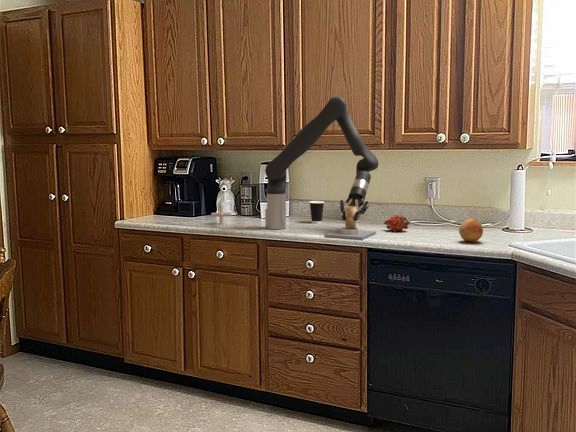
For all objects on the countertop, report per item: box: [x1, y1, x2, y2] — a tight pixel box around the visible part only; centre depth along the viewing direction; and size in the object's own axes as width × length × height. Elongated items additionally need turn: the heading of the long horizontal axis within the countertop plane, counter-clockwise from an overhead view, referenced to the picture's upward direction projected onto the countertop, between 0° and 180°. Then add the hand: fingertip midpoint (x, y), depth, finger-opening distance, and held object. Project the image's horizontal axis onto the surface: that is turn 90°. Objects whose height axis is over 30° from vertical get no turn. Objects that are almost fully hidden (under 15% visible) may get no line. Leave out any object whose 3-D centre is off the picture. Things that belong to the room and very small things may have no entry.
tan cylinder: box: [344, 205, 357, 229], centre depth 272 cm, size 5×5×10 cm
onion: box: [458, 217, 484, 243], centre depth 254 cm, size 10×10×10 cm
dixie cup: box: [309, 200, 325, 224], centre depth 314 cm, size 8×8×11 cm
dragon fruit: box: [383, 214, 410, 232], centre depth 285 cm, size 8×8×12 cm
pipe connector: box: [211, 204, 232, 225], centre depth 312 cm, size 10×10×10 cm
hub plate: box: [324, 226, 377, 241], centre depth 273 cm, size 18×18×3 cm
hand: (349, 219), depth 271 cm, fingers closed on tan cylinder, 4 cm apart
